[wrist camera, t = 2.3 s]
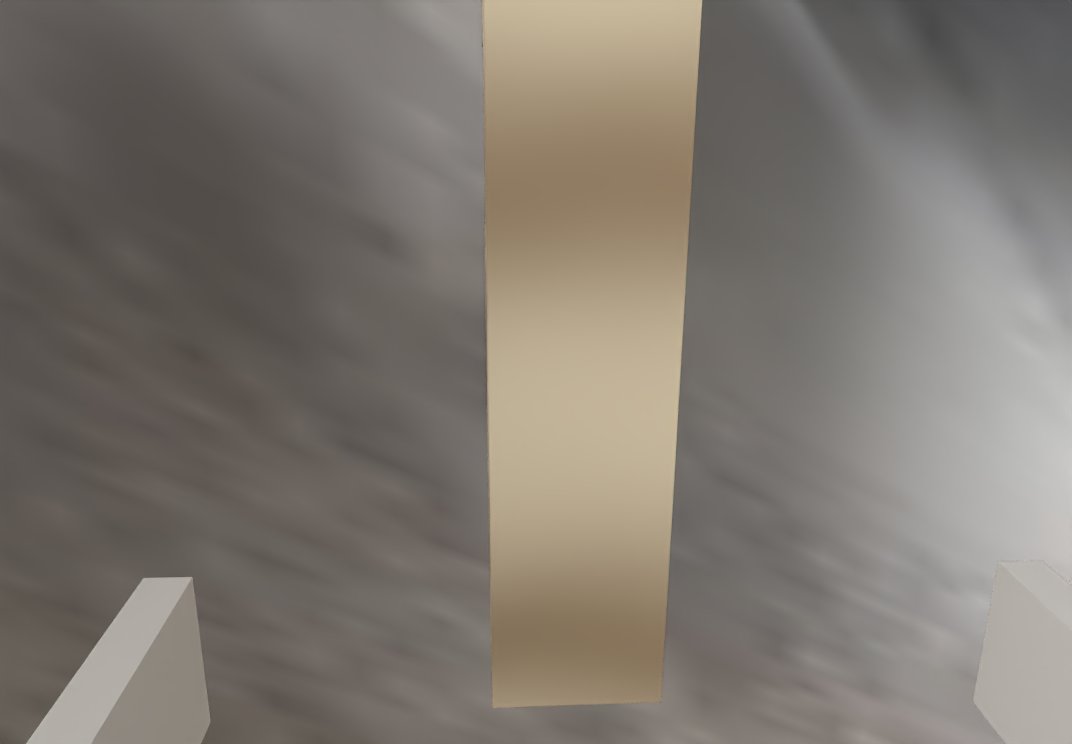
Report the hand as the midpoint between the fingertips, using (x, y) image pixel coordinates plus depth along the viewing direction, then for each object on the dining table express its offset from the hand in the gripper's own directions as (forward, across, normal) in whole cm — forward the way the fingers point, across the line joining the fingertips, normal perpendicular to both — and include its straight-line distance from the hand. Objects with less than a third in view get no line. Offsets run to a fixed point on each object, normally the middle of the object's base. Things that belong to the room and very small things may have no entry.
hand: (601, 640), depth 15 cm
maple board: (+13, 0, +7) cm, 15 cm away
